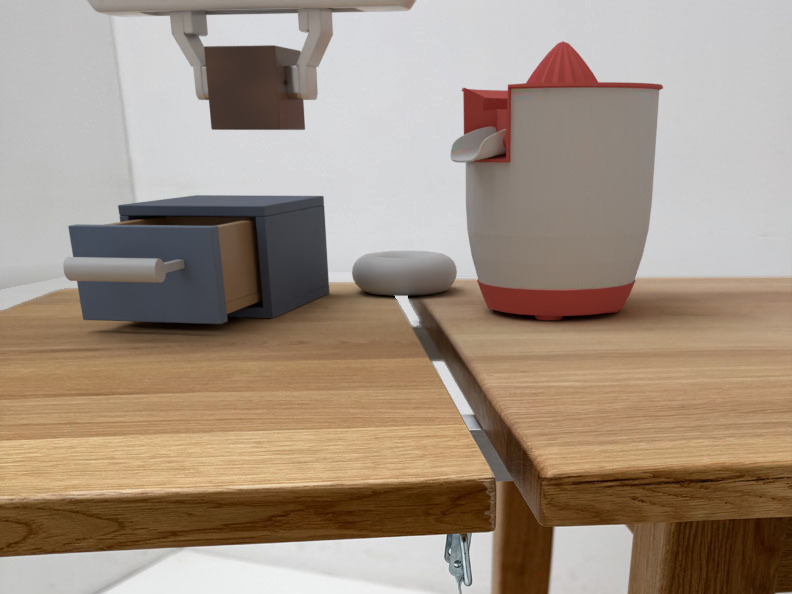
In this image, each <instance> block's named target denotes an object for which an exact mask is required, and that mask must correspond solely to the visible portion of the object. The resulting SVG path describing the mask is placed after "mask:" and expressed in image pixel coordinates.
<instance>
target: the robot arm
mask: <svg viewBox="0 0 792 594" xmlns="http://www.w3.org/2000/svg"><path fill="white" fill-rule="evenodd" d="M86 1H87V3H88V4H89V6H90V7H91V8H92V9H93V10H94V11H95V12H96V13H99V14H103V15H105V16H113V17H121V18H133V17H140V18H141V17H169V21H170V30H171V35H172V37H173V38H174V40H175V42H176V44H177V45H178V47H179V49H180V51H181V52H182V54H183V55H184V57H185V59H186V60H187V62H188V63H189V65H190V67H192V69H193V79H194V89H195V96H196V99H198V100H199V101H209V96H208V86H207V75H206V64H205V53H204V47H205V46H204V44H203V42H202V40H201V38H200V37H207V36H208V35H209V32H208V31H209V29H208V19H207V16H232V15H233V16H238V15H285V14H286V15H289V14H292V15H293V14H297V18H298V19H297V20H298V21H297V22H298V31H300V32H301V33H305V34H307V36H306V38H305V41H304V44H303V46H302V48H301V50H300V51H301V54H300V56H299V59H298V61H297V64H296V65H298V66H284V71H285V80H286V82H287V83H286V85H285V87H286V95H287V98H288V99H291V100H303V101H316V100H317V99H318V94H319V93H318V72H317V68H318V67H320V65H321V62H322V60H323V57H324V55H325V53H326V51H327V50H328V47H329V44H330V42H331V40H332V38H333V36H334V28H333V27H334V26H333V14H337V13H338V14H339V13H341V14H342V13H385V12H386V13H387V12H391V13H392V12H408V11H410V10H412V8H413V7H414V5H415V4H416V2H417V1H418V0H86Z"/></svg>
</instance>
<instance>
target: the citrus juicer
mask: <svg viewBox="0 0 792 594" xmlns="http://www.w3.org/2000/svg"><path fill="white" fill-rule="evenodd" d="M663 89H664V86H663V84H660V83H651V82H650V83H649V82H648V83H647V82H621V81H620V82H618V81H617V82H616V81H615V82H614V81H611V82H607V81H606V82H605V81H604V82H603V81H598V79H597V78H596V76H595V73H593V71H592V70H591V68H590V67H589V65H588V63H586V61H585V60H584V58H582V56H581V55H580V53H578V51H577V50H576V49H575V48H574V47H573V46H572V45H571V44H570V43H569V42H566V41H564V40H563V41H560V42H558V43H556V44H555V46H553V48H551V49H550V50H549V51H548V53H547V54H546V55H545V56H544V57H543V58H542V60H541V61H540V62H539V64H538V65H537V66H536V68H535V69H534V70H533V72H532V73H531V75H530V76H529V77H528V79H527V81H526V82H525V83H510V84H509V83H508V84H507V90H501V89H500V90H497V89H495V90H494V89H474V88H466V87H462V88H461V92H462V95H463V96H462V97H463V98H462V99H463V101H462V102H463V135H460V137H458V138H456V139H455V141H453V143H452V145H451V149H450V160H451V161H452V162H454V163H459V164H461V163H465V212H466V213H465V214H466V215H465V216H466V230H467V236H468V242H469V247H470V254H471V258H472V262H473V267H474V269H475V274H476V277H477V280H476V281H477V285H478V287H479V289H480V293H481V295H482V297H483V300H484V303H485V304H486V307H487V308H489V309H491V310H493V311H497V312H501V313H507V314H514V315H515V314H516V315H523V316H524V315H526V316H534V318H535V319H536V320H538V321H559V320H561V319H563V317H571V316H575V317H576V316H589V315H599V314H615V313H619V312H620V310H621V309H623V308H624V307H625V305H626V303H627V301H628V299H629V296H630V295H631V292H632V290H633V288H634V285H635V283H636V277H637V273H638V271H639V268H640V265H641V262H642V258H643V255H644V251H645V247H646V244H647V243H646V242H647V238H648V234H649V229H650V221H651V215H652V214H651V212H652V204H653V191H654V190H653V189H654V176H655V159H656V148H657V147H656V146H657V131H658V130H657V129H658V118H659V117H658V115H659V104H660V103H659V101H660V91H661V90H663Z"/></svg>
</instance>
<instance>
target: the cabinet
mask: <svg viewBox="0 0 792 594" xmlns="http://www.w3.org/2000/svg"><path fill="white" fill-rule="evenodd" d="M117 209H118V215H119V222H123V221H130V220H136V219H143V218H149V217H156V216H231V217H256V229H257V241H258V252H259V264H260V275H261V287H262V299H263V300H262V301H260V302H257V303H254V304H252V305H249V306H247V307H244V308H241V309H239V310H236V311H234V312H231V313H228V314H227V318H250V319H251V318H252V319H254V318H255V319H256V318H257V319H274V318H276V317H279V316H281V315H283V314H286V313H288V312H290V311H292V310H294V309H297V308H299V307H301V306H304V305H306V304H309V303H310V302H314V301H315V300H318V299H320V298H322V297H324V296H326V295H329V294H330V279H329V264H328V263H329V262H328V246H327V229H326V213H325V211H326V210H325V196H324V195H237V194H236V195H229V194H226V195H225V194H224V195H221V194H220V195H219V194H218V195H217V194H216V195H215V194H213V195H212V194H208V195H207V194H196V195H188V196H179V197H173V198H164V199H157V200H148V201H140V202H133V203H132V202H131V203H123V204H118V205H117Z"/></svg>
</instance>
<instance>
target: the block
mask: <svg viewBox="0 0 792 594" xmlns="http://www.w3.org/2000/svg"><path fill="white" fill-rule="evenodd" d="M301 51H302V50H299V49H295V48H289V47H284V46H279V45H276V44H275V45H273V44H271V45H270V44H268V45H267V44H266V45H208V46H207V45H205V46H204V53H205V64H206V75H207V86H208V96H209V100H208V105H209V117H210V128H211V130H212V131H213V130H214V131H215V130H216V131H233V130H234V131H305V130H306V122H305V105H304V103H305V102H304V100H291V99H288V98H287V95H286V87H285V85H286V83H287V82H286V80H285V71H284V66H298V65H296V64H297V61H298V59H299V56H300V54H301Z"/></svg>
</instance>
